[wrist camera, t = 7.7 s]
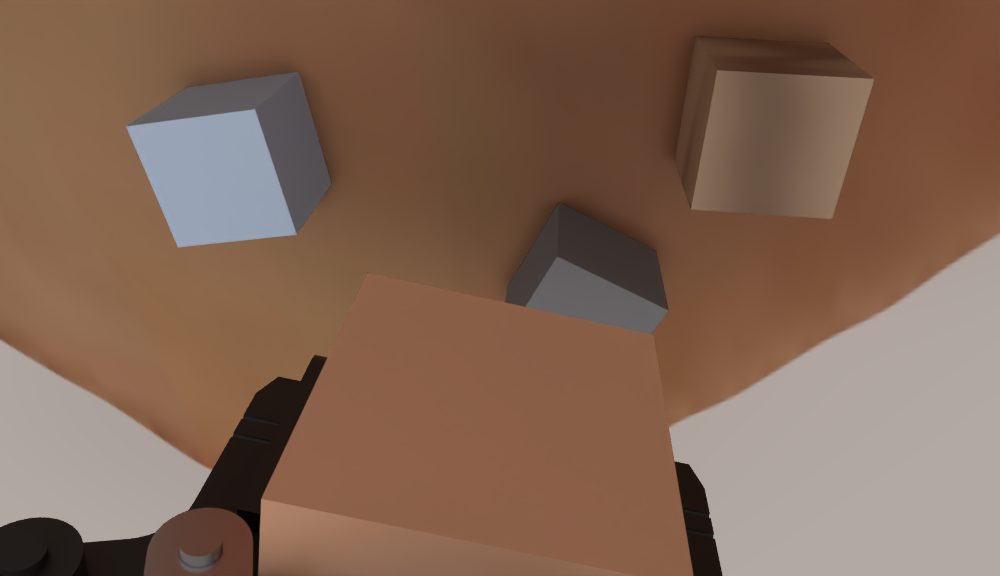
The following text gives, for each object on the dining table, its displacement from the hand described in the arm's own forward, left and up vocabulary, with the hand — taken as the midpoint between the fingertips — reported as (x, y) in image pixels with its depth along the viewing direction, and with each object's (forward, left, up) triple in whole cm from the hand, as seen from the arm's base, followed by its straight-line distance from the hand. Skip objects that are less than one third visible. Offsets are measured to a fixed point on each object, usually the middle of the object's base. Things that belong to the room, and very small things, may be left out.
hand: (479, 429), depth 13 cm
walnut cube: (-8, -2, -19) cm, 21 cm away
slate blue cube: (+11, +4, -19) cm, 23 cm away
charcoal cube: (-4, +7, -19) cm, 21 cm away
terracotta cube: (0, 0, 0) cm, 0 cm away
